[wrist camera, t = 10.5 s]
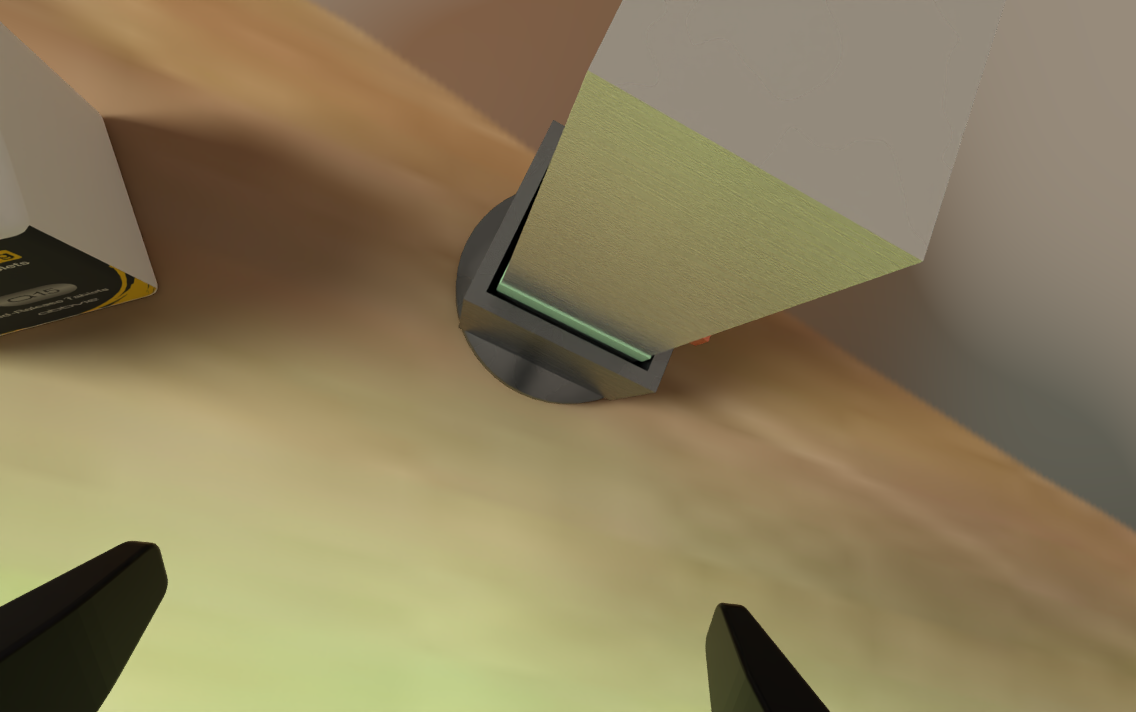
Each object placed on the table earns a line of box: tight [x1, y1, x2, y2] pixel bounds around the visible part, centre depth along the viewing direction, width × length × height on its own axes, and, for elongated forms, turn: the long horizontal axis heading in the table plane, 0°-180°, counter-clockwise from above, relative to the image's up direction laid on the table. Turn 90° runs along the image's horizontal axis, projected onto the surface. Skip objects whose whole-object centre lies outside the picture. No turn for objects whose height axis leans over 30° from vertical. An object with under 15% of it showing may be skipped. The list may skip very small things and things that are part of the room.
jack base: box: [456, 120, 711, 404], centre depth 21 cm, size 9×9×6 cm
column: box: [496, 0, 1006, 363], centre depth 13 cm, size 5×5×12 cm
